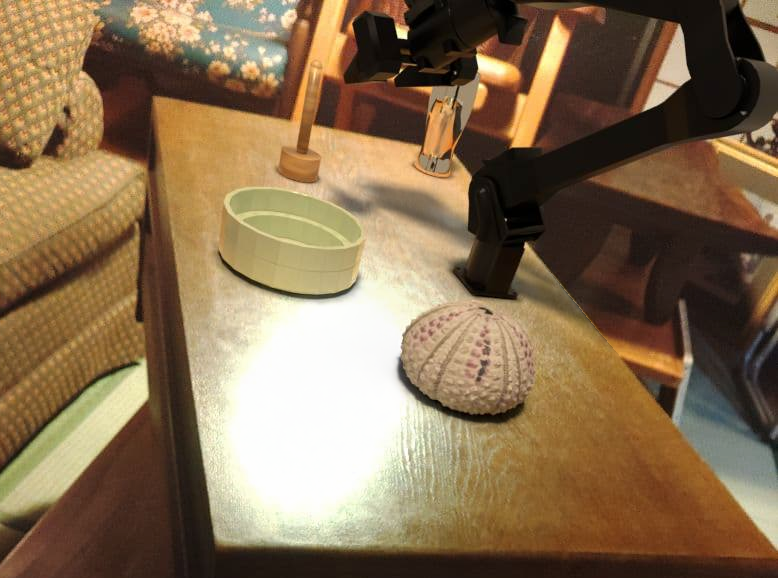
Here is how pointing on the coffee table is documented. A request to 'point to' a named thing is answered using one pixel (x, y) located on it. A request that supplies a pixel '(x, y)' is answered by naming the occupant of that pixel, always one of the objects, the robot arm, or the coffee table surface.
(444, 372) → the sea urchin shell
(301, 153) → the wooden stamp
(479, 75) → the beer glass
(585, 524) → the coffee table surface
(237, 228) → the bowl
